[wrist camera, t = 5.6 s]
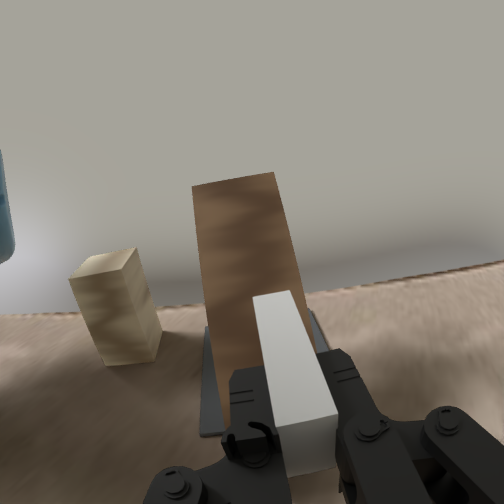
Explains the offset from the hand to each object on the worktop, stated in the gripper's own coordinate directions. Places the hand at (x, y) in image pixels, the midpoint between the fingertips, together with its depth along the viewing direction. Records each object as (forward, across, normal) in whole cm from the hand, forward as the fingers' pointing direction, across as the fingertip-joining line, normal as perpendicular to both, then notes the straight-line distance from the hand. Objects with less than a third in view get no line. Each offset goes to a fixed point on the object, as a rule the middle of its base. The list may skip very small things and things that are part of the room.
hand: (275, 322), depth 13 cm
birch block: (+13, -13, -9) cm, 21 cm away
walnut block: (0, -1, -8) cm, 8 cm away
